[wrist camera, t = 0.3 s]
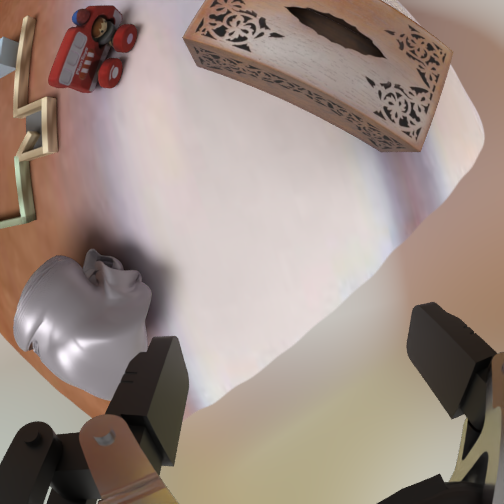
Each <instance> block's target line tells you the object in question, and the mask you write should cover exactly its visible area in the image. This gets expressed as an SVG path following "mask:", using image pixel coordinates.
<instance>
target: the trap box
mask: <svg viewBox="0 0 504 504" xmlns="http://www.w3.org/2000/svg"><path fill="white" fill-rule="evenodd" d="M35 23H36V20H35V19H34V18H32V17H30V16H27V17H25V18H24V19H23V24H22V29H21V35H20V41H19V47H18V54H17V62H16V71H15V83H14V101H13V118H22V119H23V118H25V117H26V136H25V138H24V140H23V142H22V144H21V146H20V148H19V150H18V152H17V154H16V156H15V157H14V162H15V174H16V184H17V192H18V200H19V207H20V213H21V216H19V217H15V218H10V219H6V220H2V221H0V229H1V228H6V227H10V226H15V225H20V224H25V223H29V222H31V221H34V220H36V215H35V209H34V202H33V195H32V187H31V178H30V167H29V161H30V160H33V159H36V158H40V157H43V156H46V155H49V154H53V153H56V152H58V143H57V116H56V99H55V98H51V97H45V98H42V99H40V100H37V101H35V102H33V103H30V104H28V105H27V102H28V80H29V68H30V58H31V49H32V42H33V35H34V29H35Z"/></svg>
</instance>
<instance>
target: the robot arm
mask: <svg viewBox="0 0 504 504" xmlns="http://www.w3.org/2000/svg"><path fill="white" fill-rule="evenodd" d="M407 353H408V356H409V358H410V360H411V361H412V363H413V364H414V366H415V367H416V368H417V370H418V371H419V373H420V374H421V375H422V377H423V378H424V380H425V381H426V382H427V384H428V385H429V387H430V388H431V390H432V391H433V392H434V394H435V395H436V397H437V398H438V400H439V401H440V403H441V404H442V406H443V407H444V409H445V410H446V411H447V413H448V414H449V416H450V417H451V419H454V418H456V417H459V416H461V415H463V414H465V415H466V417H467V418H466V420H465V422H464V424H463V430H462V437H461V442H460V448H459V453H458V458H457V462H456V467H455V470H454V472H453V475H452V476H451V478H450V480H449V482H444V481H443V479H442V477H441V475H440V474H438V475H436V476H434V477H431V478H429V479H426V480H424V481H421V482H419V483H416V484H414V485H411V486H408V487H406V488H403V489H401V490H400V491H398V492H396V493H395V494H393V495H391V496H389V497H388V498H386V499H384V500H383V501H381V502H379V503H377V504H504V352H500V353H498V354H497V353H496V352H495V351H494V350H493V349H492V348H491V347H490V346H489V345H488V344H487V343H486V342H485V341H484V340H483V339H482V338H480V337H479V336H478V335H477V334H476V333H475V334H474V331H473V330H472V329H471V328H470V327H467V325H466V324H465V323H464V322H463V321H462V320H461V319H459V318H458V317H455V316H454V315H451V314H449V313H447V312H446V311H445V310H443V309H442V308H441V307H440V306H439V305H438V304H436V303H435V302H430V303H426V304H421V305H417V306H415V307H414V308H413V310H412V315H411V322H410V327H409V333H408V339H407ZM188 390H189V378H188V372H187V369H186V365H185V362H184V358H183V354H182V351H181V347H180V343H179V340H178V338H177V337H176V336H164V337H153V339H152V341H151V343H150V345H149V347H148V350H147V352H140V353H138V354H137V355H136V356H135V357H134V358H133V359H132V360H131V361H130V362H129V364H128V366H127V368H126V370H125V374H123V376H122V379H121V383H119V385H118V387H117V389H116V391H115V393H114V395H113V398H112V400H111V402H110V404H109V406H108V408H107V411H106V413H105V415H99V416H96V417H94V418H92V419H90V420H89V421H88V422H86V423H85V424H84V425H83V427H82V428H81V431H80V432H78V433H68V434H57V435H56V434H55V432H54V431H53V430H52V428H51V427H50V426H49V425H48V424H46V423H44V422H39V421H38V422H31V423H28V424H26V425H25V426H23V427H22V428H21V429H20V430H19V431H18V432H17V434H16V435H15V437H14V439H13V441H12V443H11V445H10V447H9V448H8V450H7V452H6V454H5V456H4V458H3V460H2V462H1V464H0V504H43V503H44V500H45V497H46V494H47V491H48V489H49V486H51V487H52V489H51V492H50V495H49V498H48V501H47V504H96V501H97V499H102V500H99V501H98V504H179V503H178V502H177V500H176V499H175V497H174V496H173V495H172V493H171V492H170V491H169V489H168V488H167V486H166V485H165V484H164V482H163V481H162V479H161V478H160V476H159V475H160V470H161V466H174V463H175V457H176V452H177V446H178V441H179V436H180V431H181V425H182V420H183V415H184V410H185V405H186V400H187V395H188Z"/></svg>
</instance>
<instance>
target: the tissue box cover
mask: <svg viewBox="0 0 504 504" xmlns="http://www.w3.org/2000/svg"><path fill="white" fill-rule="evenodd" d="M306 8H307V9H306ZM308 9H310V10H308ZM311 10H312V11H311ZM313 11H314V12H313ZM315 12H316V13H315ZM317 13H318V14H317ZM319 14H321V15H319ZM322 15H323V16H322ZM324 16H325V17H324ZM326 17H327V18H326ZM328 18H329V19H328ZM330 19H331V20H330ZM332 20H333V21H332ZM334 21H335V22H334ZM336 22H337V23H336ZM338 23H339V24H338ZM340 24H341V25H340ZM342 25H343V26H342ZM344 26H345V27H344ZM346 27H347V28H346ZM348 28H349V29H348ZM350 29H351V30H352V31H351V30H350ZM353 31H354V32H353ZM355 32H356V33H355ZM357 33H358V34H357ZM359 34H360V35H361V36H360V35H359ZM362 36H363V37H362ZM364 37H365V38H364ZM182 38H183V40H184V42H185V44H186V45H187V47H188V49H189V51H190V53H191V55H192V57H193V59H194V61H195V63H196V65H197V66H198V67H201V68H204V69H207V70H210V71H213V72H216V73H218V74H221V75H224V76H227V77H229V78H232V79H235V80H237V81H240V82H242V83H245V84H247V85H250V86H252V87H255V88H257V89H260V90H262V91H264V92H267V93H269V94H271V95H274V96H276V97H278V98H280V99H283V100H285V101H287V102H289V103H291V104H293V105H296V106H298V107H300V108H302V109H304V110H306V111H308V112H310V113H312V114H314V115H316V116H318V117H320V118H322V119H324V120H326V121H328V122H330V123H331V124H333V125H335V126H337V127H339V128H341V129H342V130H344V131H346V132H348V133H350V134H351V135H353V136H355V137H357V138H358V139H360V140H362V141H363V142H365V143H367V144H369V145H370V146H372V147H373V148H375V149H377V150H378V151H380V152H420V151H421V149H422V146H423V144H424V141H425V139H426V136H427V133H428V131H429V128H430V125H431V122H432V120H433V117H434V114H435V111H436V108H437V105H438V102H439V99H440V96H441V93H442V90H443V86H444V83H445V80H446V77H447V73H448V70H449V66H450V63H451V59H452V55H453V52H452V50H450V49H449V48H448V47H447V46H445V45H444V44H443V43H442V42H441V41H439V40H438V39H437V38H436V37H434V36H433V35H432V34H430V33H429V32H428V31H426V30H425V29H424V28H422V27H421V26H420V25H418V24H417V23H415V22H414V21H412V20H411V19H410V18H408V17H407V16H405V15H404V14H402V13H401V12H399V11H397V10H396V9H394V8H393V7H391V6H390V5H388V4H386V3H385V2H383V1H381V0H205V2H204V3H203V5H202V6H201V8H200V9H199V11H198V12H197V14H196V16H195V17H194V19H193V21H192V22H191V24H190V25H189V27H188V29H187V31H186V32H185V34H184V36H183V37H182ZM366 38H367V39H368V40H367V39H366ZM369 40H370V41H369ZM371 41H372V42H371Z"/></svg>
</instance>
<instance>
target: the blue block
mask: <svg viewBox="0 0 504 504" xmlns="http://www.w3.org/2000/svg"><path fill="white" fill-rule="evenodd" d="M18 47H19V43H18V42H16V41H13V40H11V39H8V38H6V37H2V38H1V39H0V78H2V77H3V76H5V75H7V74H9V73H10V72H12V71H14V70H16V62H17V54H18Z"/></svg>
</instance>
